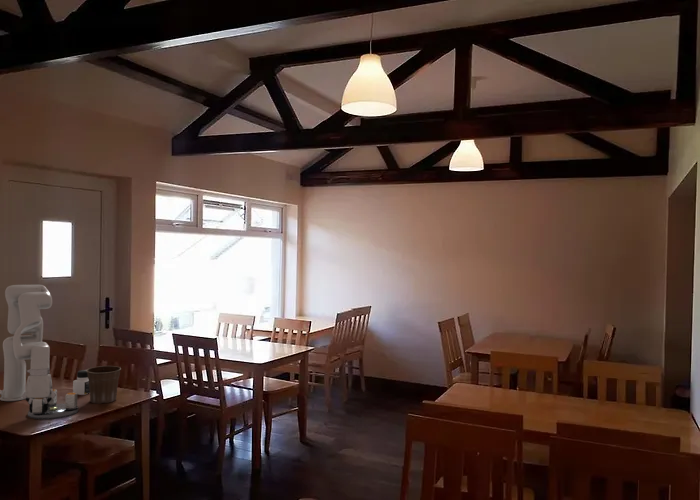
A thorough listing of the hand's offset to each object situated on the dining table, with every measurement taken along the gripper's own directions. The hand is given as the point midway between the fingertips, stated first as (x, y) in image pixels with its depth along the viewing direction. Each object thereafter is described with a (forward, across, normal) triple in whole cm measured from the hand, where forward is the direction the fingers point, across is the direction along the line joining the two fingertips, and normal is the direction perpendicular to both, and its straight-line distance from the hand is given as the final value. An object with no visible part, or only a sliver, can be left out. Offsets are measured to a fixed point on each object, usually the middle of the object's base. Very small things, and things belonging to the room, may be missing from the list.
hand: (38, 411), depth 259 cm
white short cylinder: (+1, +12, +7) cm, 14 cm away
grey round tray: (+3, +4, +7) cm, 8 cm away
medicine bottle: (+3, +5, +44) cm, 44 cm away
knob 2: (+1, 0, +14) cm, 14 cm away
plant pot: (+3, +20, +28) cm, 34 cm away
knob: (+1, 0, 0) cm, 1 cm away
